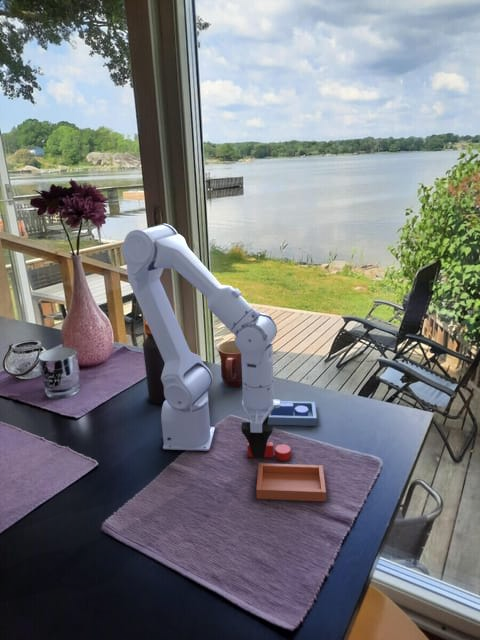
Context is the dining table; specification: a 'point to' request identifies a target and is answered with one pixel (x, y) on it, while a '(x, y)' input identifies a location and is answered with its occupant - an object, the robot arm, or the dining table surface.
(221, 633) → the dining table surface
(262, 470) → the terracotta tray
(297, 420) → the blue tray
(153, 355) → the bottle
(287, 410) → the blue spoon
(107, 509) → the dining table surface
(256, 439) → the robot arm
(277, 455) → the red spoon
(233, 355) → the mug
